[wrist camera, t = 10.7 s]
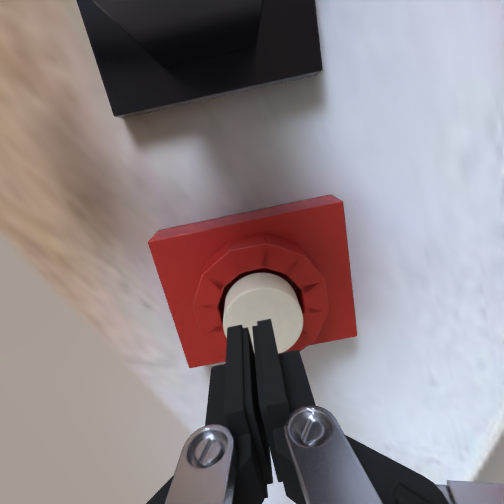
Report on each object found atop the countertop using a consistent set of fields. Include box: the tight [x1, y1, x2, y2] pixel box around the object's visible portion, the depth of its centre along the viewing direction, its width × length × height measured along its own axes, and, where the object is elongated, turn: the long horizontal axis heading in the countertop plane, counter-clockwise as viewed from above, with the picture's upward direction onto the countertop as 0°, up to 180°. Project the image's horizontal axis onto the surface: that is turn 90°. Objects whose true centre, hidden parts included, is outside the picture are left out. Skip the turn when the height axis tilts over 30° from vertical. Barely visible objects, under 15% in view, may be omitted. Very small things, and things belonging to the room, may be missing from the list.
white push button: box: [223, 273, 303, 353], centre depth 15 cm, size 4×4×2 cm
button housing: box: [148, 195, 357, 368], centre depth 17 cm, size 10×8×4 cm
